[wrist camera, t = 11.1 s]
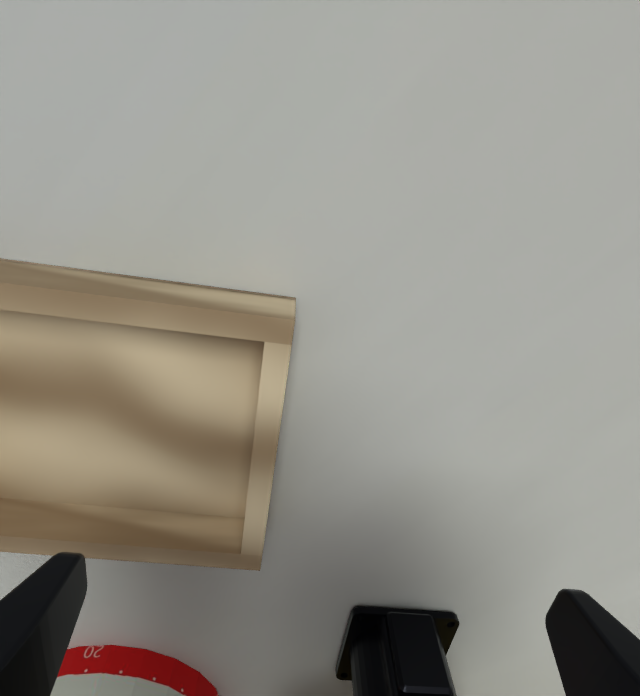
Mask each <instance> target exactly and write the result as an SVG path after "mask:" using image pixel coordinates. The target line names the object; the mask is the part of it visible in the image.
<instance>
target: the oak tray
mask: <svg viewBox="0 0 640 696" xmlns="http://www.w3.org/2000/svg"><path fill="white" fill-rule="evenodd" d="M295 305H296V298H293V297H286V296H278V295H271V294H263V293H256V292H248V291H241V290H233V289H226V288H218V287H211V286H203V285H196V284H188V283H181V282H173V281H166V280H158V279H151V278H143V277H136V276H128V275H121V274H113V273H106V272H98V271H91V270H83V269H76V268H68V267H61V266H53V265H46V264H38V263H31V262H23V261H16V260H8V259H1V258H0V552H12V553H25V554H39V555H53V556H54V555H55V554H57V553H59V552H76V553H82V554H83V555H84V557H85V558H94V559H108V560H121V561H135V562H149V563H163V564H176V565H190V566H204V567H217V568H231V569H245V570H259V571H260V567H261V560H262V553H263V546H264V539H265V532H266V524H267V517H268V510H269V503H270V496H271V489H272V481H273V474H274V467H275V460H276V453H277V446H278V439H279V431H280V424H281V417H282V410H283V403H284V396H285V388H286V381H287V374H288V367H289V360H290V353H291V345H292V338H293V331H294V324H295Z"/></svg>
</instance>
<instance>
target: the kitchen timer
mask: <svg viewBox="0 0 640 696" xmlns="http://www.w3.org/2000/svg"><path fill="white" fill-rule="evenodd" d="M50 696H219V695H218V693H217V691H216V688H215V687H214V686H213V685H212V684H211V683H210V682H209V681H208V680H207V679H206V678H205V677H204V676H203V675H202V674H201V673H200V672H198V671H197V670H195V669H193V668H191V667H189V666H188V665H186V664H184V663H182V662H180V661H179V660H177V659H175V658H172V657H169V656H165V655H162V654H159V653H156V652H153V651H149V650H146V649H140V648H132V647H124V646H116V645H102V646H81V647H76V648H71V649H67V650H66V653H65V656H64V659H63V662H62V665H61V667H60V670H59V673H58V676H57V679H56V681H55V684H54V687H53V690H52V692H51V695H50Z"/></svg>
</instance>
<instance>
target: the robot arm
mask: <svg viewBox="0 0 640 696" xmlns="http://www.w3.org/2000/svg"><path fill="white" fill-rule="evenodd" d="M86 591H87V575H86V564H85V557H84V555H83V554H82V553H76V552H59V553H57V554H55V555H54V556H53V557H52V558H50V559H49V560H48V561H47V562H46V563H44V564H43V565H42V566H41V567H40V568H38V569H37V570H36V571H35V572H34V573H33V574H31V575H30V576H29V577H28V578H27V579H25V580H24V581H23V582H22V583H21V584H19V585H18V586H17V587H16V588H15V589H13V590H12V591H11V592H10V593H9V594H7V595H6V596H5V597H4V598H3V599H1V600H0V696H50V695H51V692H52V690H53V687H54V684H55V681H56V679H57V676H58V673H59V670H60V667H61V665H62V662H63V659H64V656H65V653H66V650H67V647H68V645H69V642H70V639H71V636H72V633H73V630H74V627H75V625H76V622H77V619H78V616H79V613H80V610H81V608H82V605H83V602H84V599H85V595H86ZM458 626H459V621H458V618H457V615H456V614H454V613H449V612H434V611H419V610H404V609H389V608H374V607H356V608H354V609H353V610H352V611H351V615H350V618H349V622H348V626H347V629H346V633H345V637H344V640H343V644H342V647H341V651H340V655H339V658H338V662H337V666H336V677H337V678H338V679H340V680H351V681H352V685H353V696H456V692H455V688H454V685H453V681H452V678H451V674H450V670H449V667H448V663H447V660H446V654H447V652H448V649H449V647H450V645H451V642H452V640H453V638H454V635H455V633H456V631H457V628H458ZM546 629H547V633H548V636H549V640H550V643H551V646H552V650H553V653H554V657H555V660H556V663H557V667H558V670H559V674H560V677H561V680H562V684H563V687H564V691H565V694H566V696H640V640H639V639H638V638H637V637H636V636H635V635H634V634H633V633H631V632H630V631H629V630H628V629H627V628H626V627H625V626H624V625H622V624H621V623H620V622H619V621H618V620H617V619H616V618H614V617H613V616H612V615H611V614H610V613H609V612H608V611H606V610H605V609H604V608H603V607H602V606H601V605H600V604H599V603H597V602H596V601H595V600H594V599H593V598H592V597H591V596H589V595H588V594H587V593H585V592H584V591H581V590H575V589H562V590H560V591H559V592H558V594H557V596H556V598H555V600H554V601H553V603H552V605H551V607H550V609H549V610H548V612H547V615H546Z"/></svg>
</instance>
